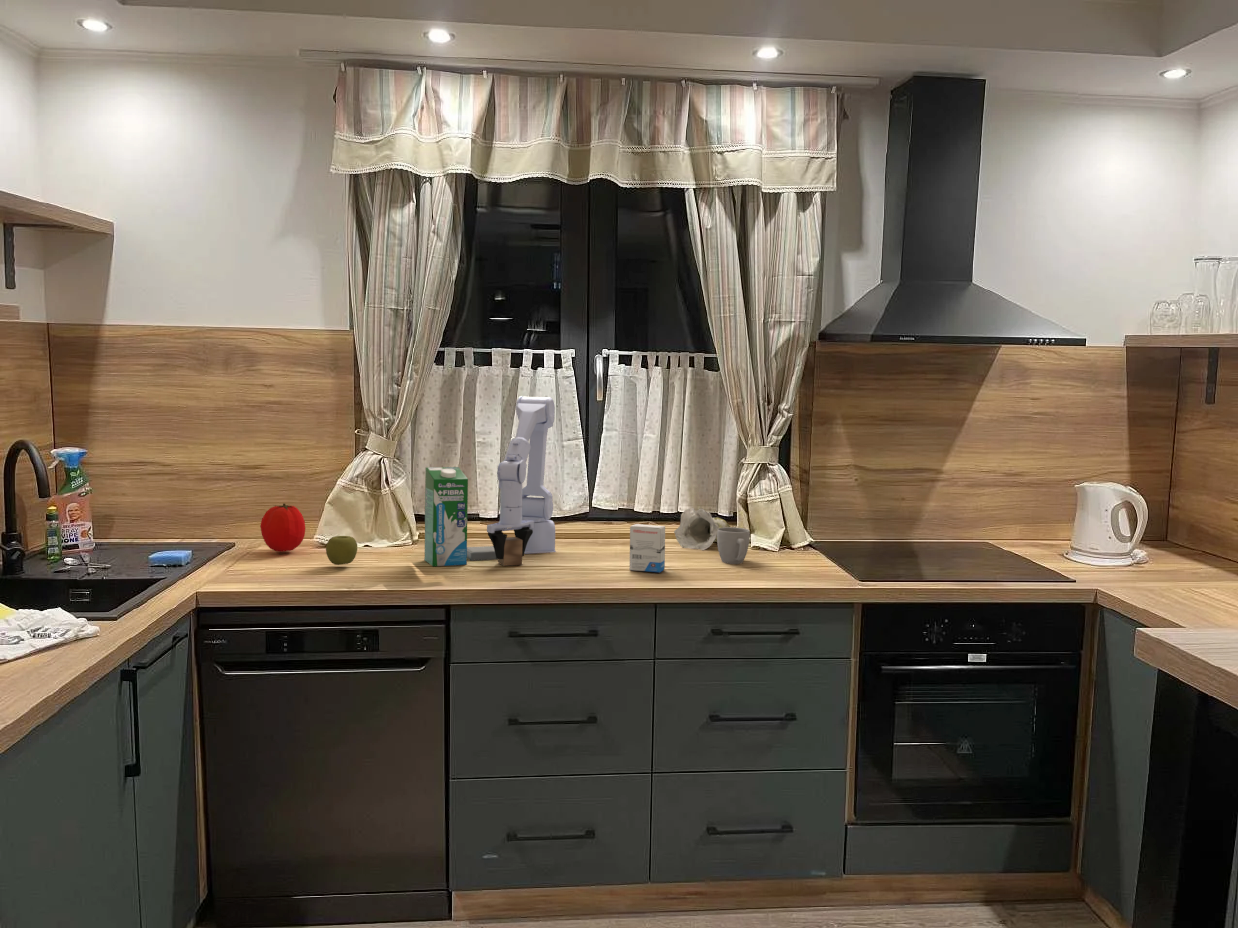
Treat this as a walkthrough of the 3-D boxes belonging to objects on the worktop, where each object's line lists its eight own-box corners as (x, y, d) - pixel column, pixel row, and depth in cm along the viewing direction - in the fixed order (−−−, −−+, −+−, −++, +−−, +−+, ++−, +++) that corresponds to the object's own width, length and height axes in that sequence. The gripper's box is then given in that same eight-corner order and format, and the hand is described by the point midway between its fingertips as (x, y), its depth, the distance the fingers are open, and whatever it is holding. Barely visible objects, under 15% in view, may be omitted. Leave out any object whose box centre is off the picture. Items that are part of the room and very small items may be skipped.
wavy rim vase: (704, 558, 267) (726, 561, 283) (721, 517, 266) (743, 522, 282) (669, 541, 272) (693, 545, 288) (687, 501, 271) (709, 507, 287)
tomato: (305, 546, 262) (305, 500, 261) (305, 554, 250) (305, 506, 249) (261, 548, 258) (261, 500, 257) (259, 556, 247) (259, 506, 246)
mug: (711, 561, 257) (712, 527, 256) (741, 561, 260) (742, 527, 259) (726, 570, 246) (728, 534, 245) (758, 569, 248) (759, 534, 247)
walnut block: (516, 561, 249) (516, 537, 248) (522, 564, 245) (522, 540, 244) (498, 562, 247) (498, 537, 246) (503, 565, 242) (504, 541, 242)
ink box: (665, 569, 244) (666, 525, 243) (659, 573, 240) (661, 528, 239) (634, 566, 247) (635, 522, 246) (628, 570, 243) (629, 525, 242)
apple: (345, 568, 234) (345, 540, 234) (319, 565, 237) (319, 537, 237) (363, 563, 242) (363, 535, 241) (337, 560, 244) (338, 533, 244)
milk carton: (432, 566, 239) (433, 470, 237) (424, 560, 248) (425, 466, 245) (466, 564, 243) (468, 469, 241) (457, 558, 251) (458, 466, 249)
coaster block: (493, 554, 261) (494, 545, 261) (503, 560, 253) (503, 551, 253) (462, 556, 257) (462, 547, 257) (470, 562, 249) (471, 552, 249)
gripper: (521, 502, 252) (520, 551, 254) (479, 506, 242) (478, 558, 243) (539, 505, 248) (538, 555, 249) (497, 509, 237) (496, 562, 238)
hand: (510, 557), depth 246 cm, fingers closed on walnut block, 6 cm apart
